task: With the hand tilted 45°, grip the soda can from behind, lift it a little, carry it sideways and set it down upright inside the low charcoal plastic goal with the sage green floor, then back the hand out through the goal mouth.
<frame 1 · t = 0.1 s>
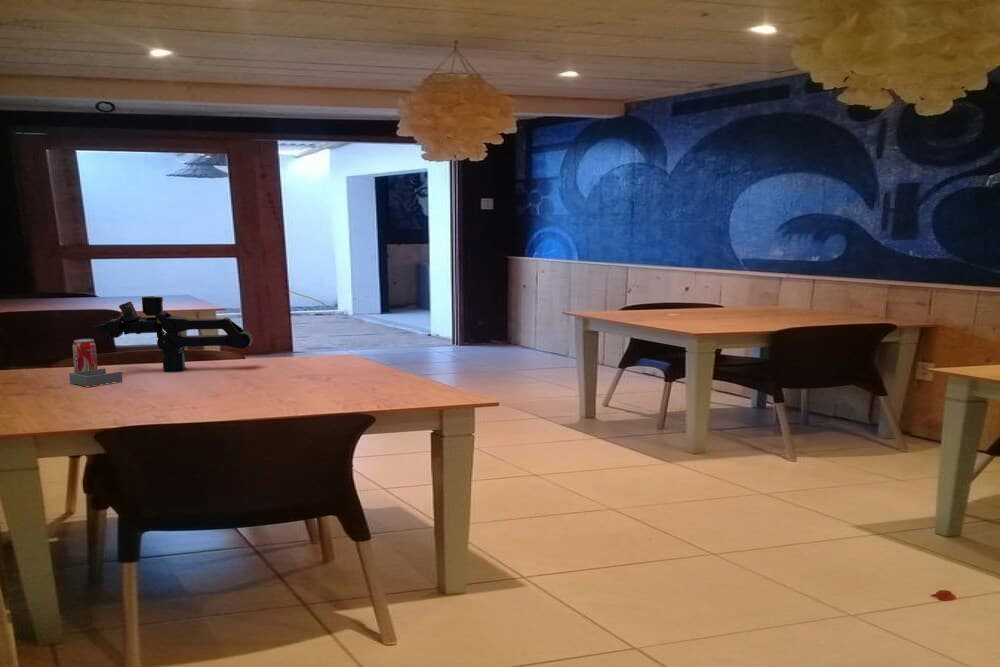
hand: (97, 326, 274), 17 cm above the table, tool horizontal, fingers open, 9 cm apart
goal: (96, 382, 257), on the table
soda can: (86, 377, 267), on the table
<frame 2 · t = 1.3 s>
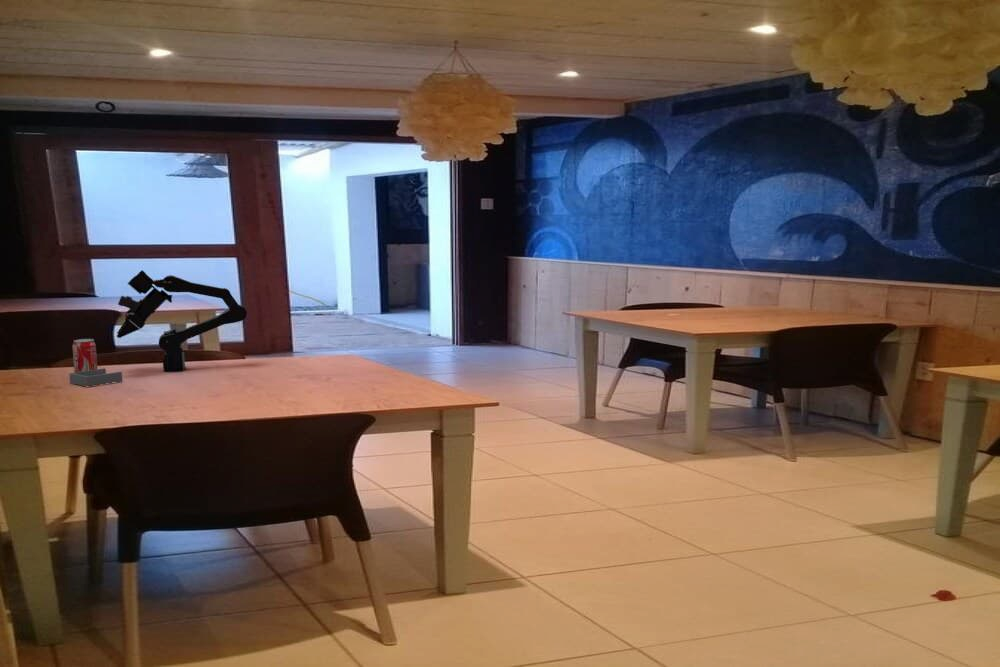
hand: (117, 335, 271), 14 cm above the table, tool tilted 45°, fingers open, 9 cm apart
nothing on the table moved.
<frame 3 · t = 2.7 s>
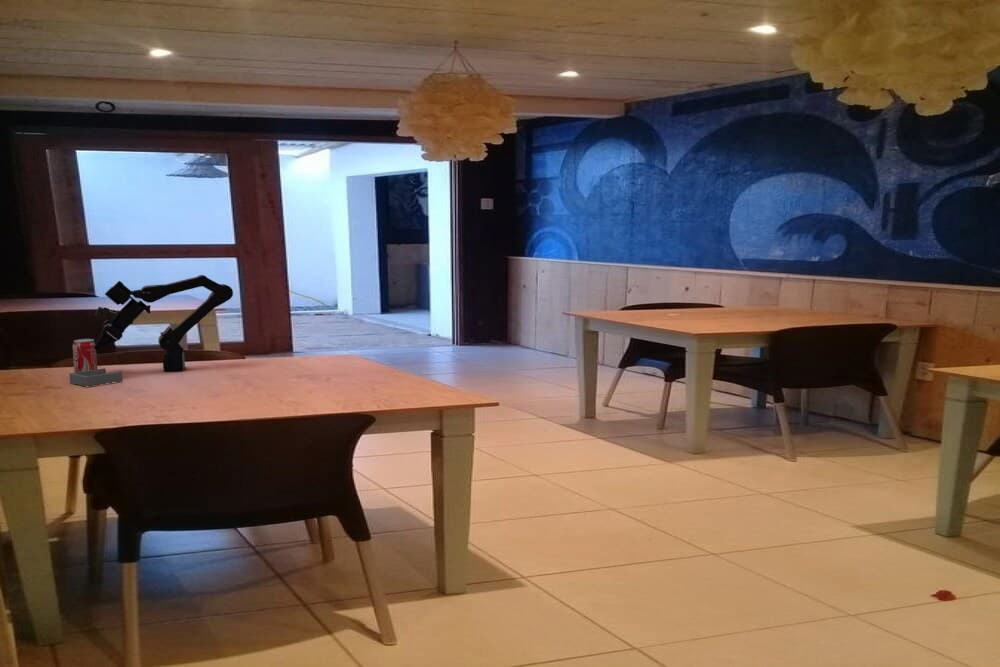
hand: (95, 347, 267), 10 cm above the table, tool tilted 45°, fingers open, 9 cm apart
nothing on the table moved.
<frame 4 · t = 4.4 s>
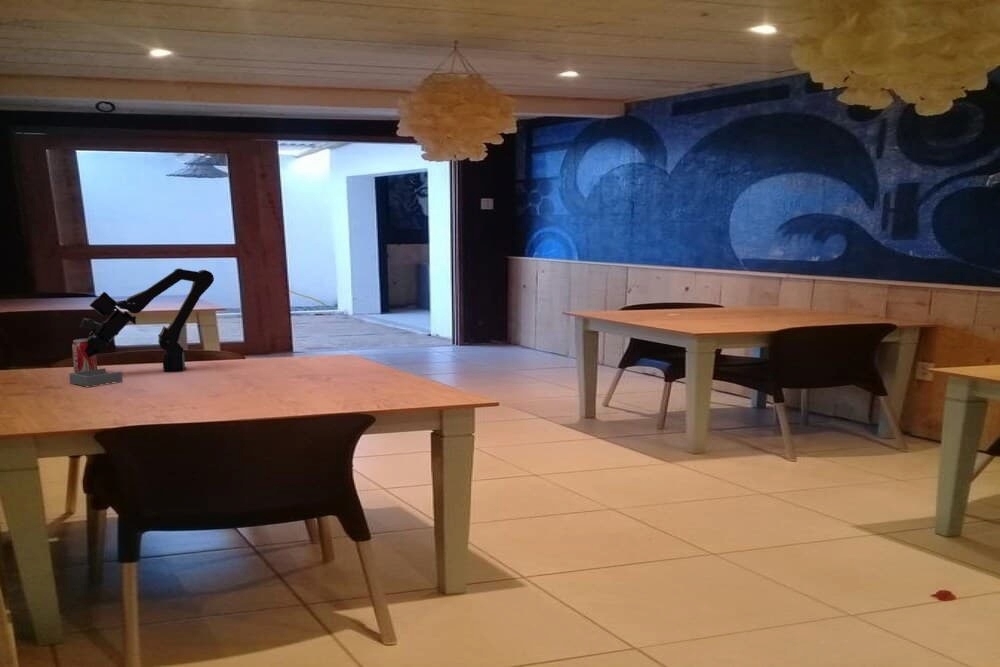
hand: (80, 358, 265), 7 cm above the table, tool tilted 45°, fingers closed on soda can, 4 cm apart
soda can: (86, 377, 267), on the table, touching gripper
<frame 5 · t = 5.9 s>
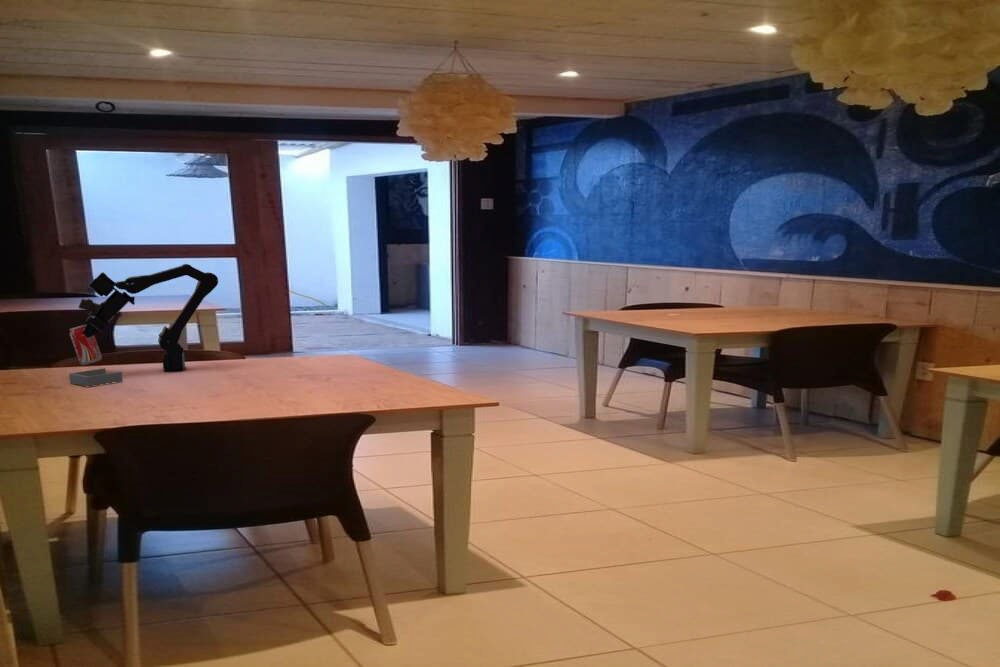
hand: (79, 339, 264), 13 cm above the table, tool tilted 45°, fingers closed on soda can, 4 cm apart
soda can: (92, 362, 267), point 5 cm above the table, touching gripper
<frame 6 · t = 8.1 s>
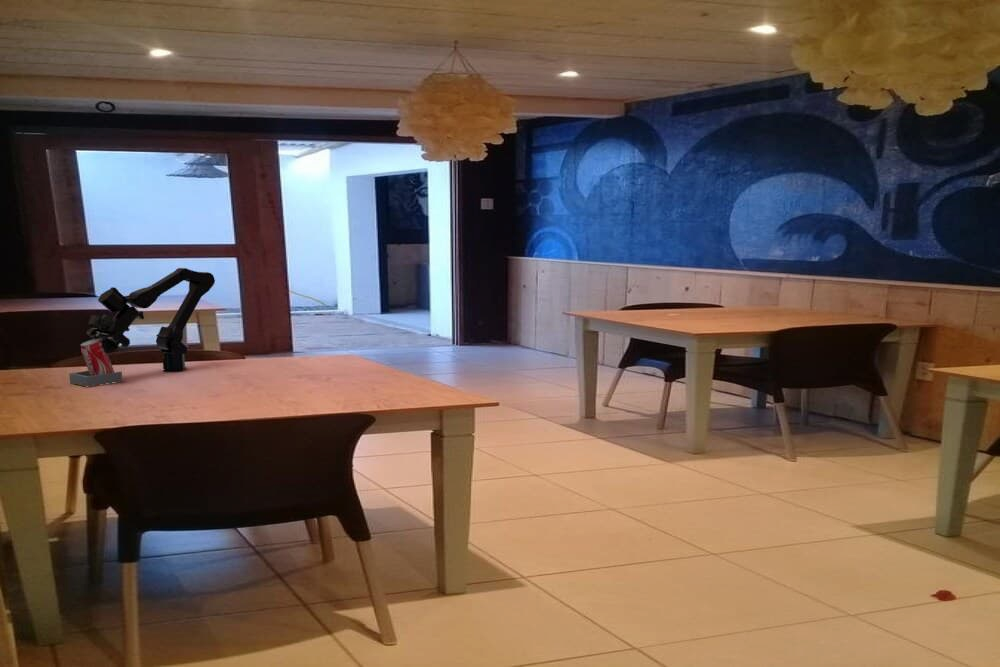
hand: (91, 357, 255), 9 cm above the table, tool tilted 45°, fingers closed on soda can, 3 cm apart
soda can: (104, 378, 259), point 1 cm above the table, touching goal, gripper
when the fingers open (9 cm above the table, at t = 8.1 s): soda can stays where it is, resting on goal.
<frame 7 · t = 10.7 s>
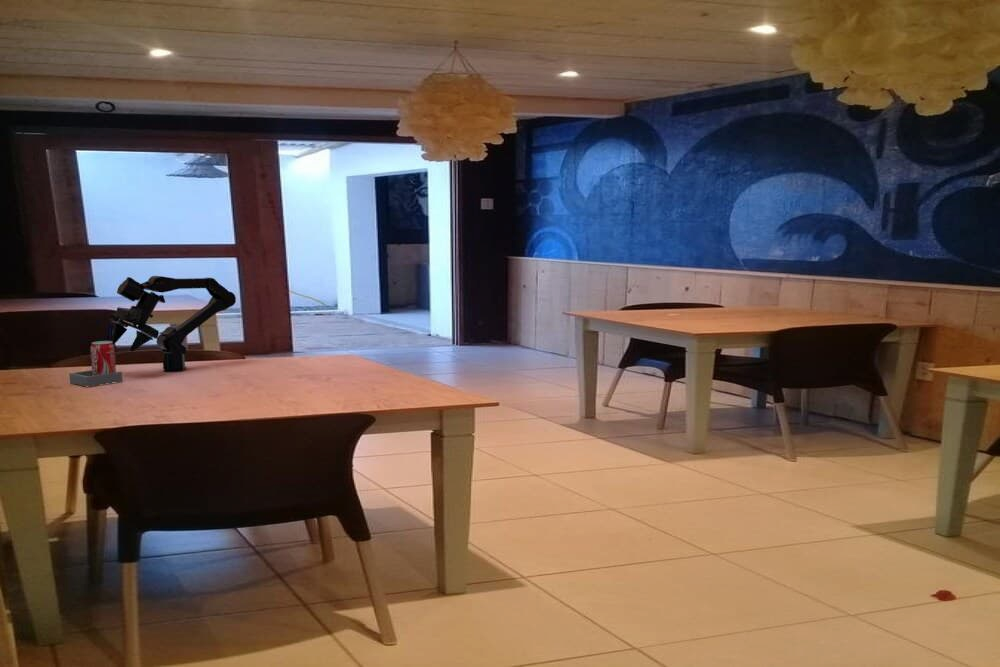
hand: (121, 347, 266), 10 cm above the table, tool tilted 35°, fingers open, 9 cm apart
soda can: (104, 381, 259), resting on goal
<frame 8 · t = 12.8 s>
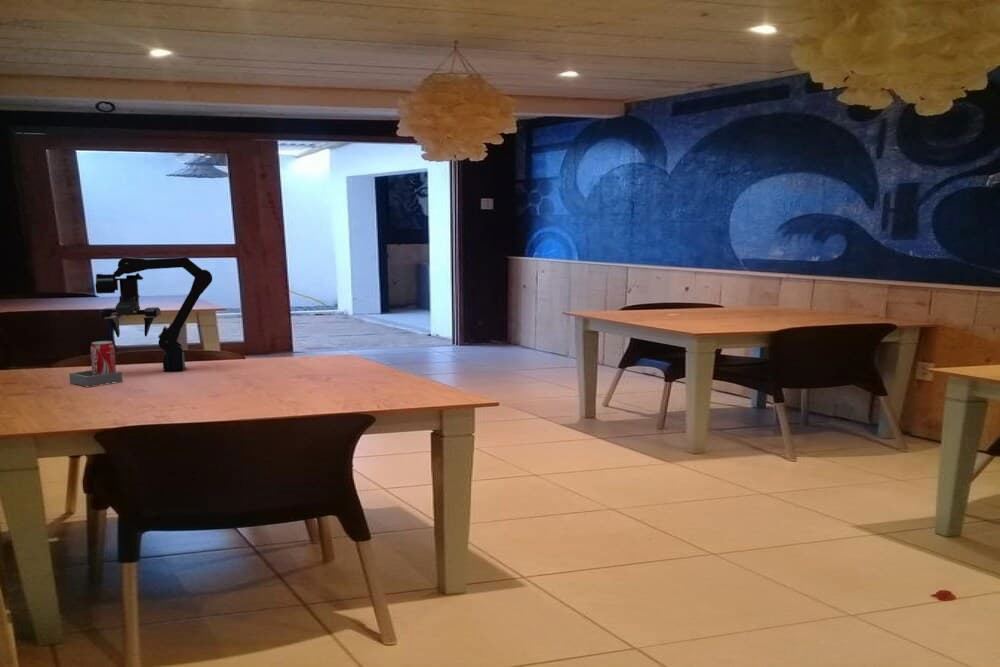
hand: (132, 336, 273), 13 cm above the table, tool pointing down, fingers open, 9 cm apart
nothing on the table moved.
at the end: soda can inside the target area on the goal (2.2 cm from its centre), point 0.2 cm above the goal's base; soda can tilted 0°; the gripper is holding nothing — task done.
